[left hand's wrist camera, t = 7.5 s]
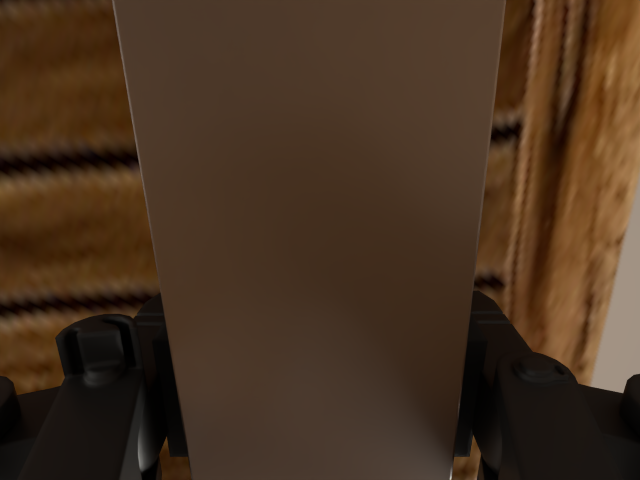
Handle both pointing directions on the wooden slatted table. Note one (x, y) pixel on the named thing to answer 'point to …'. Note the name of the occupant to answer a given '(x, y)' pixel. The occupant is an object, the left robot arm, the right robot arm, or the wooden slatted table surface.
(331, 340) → the bar
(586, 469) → the left robot arm
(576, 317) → the wooden slatted table surface
